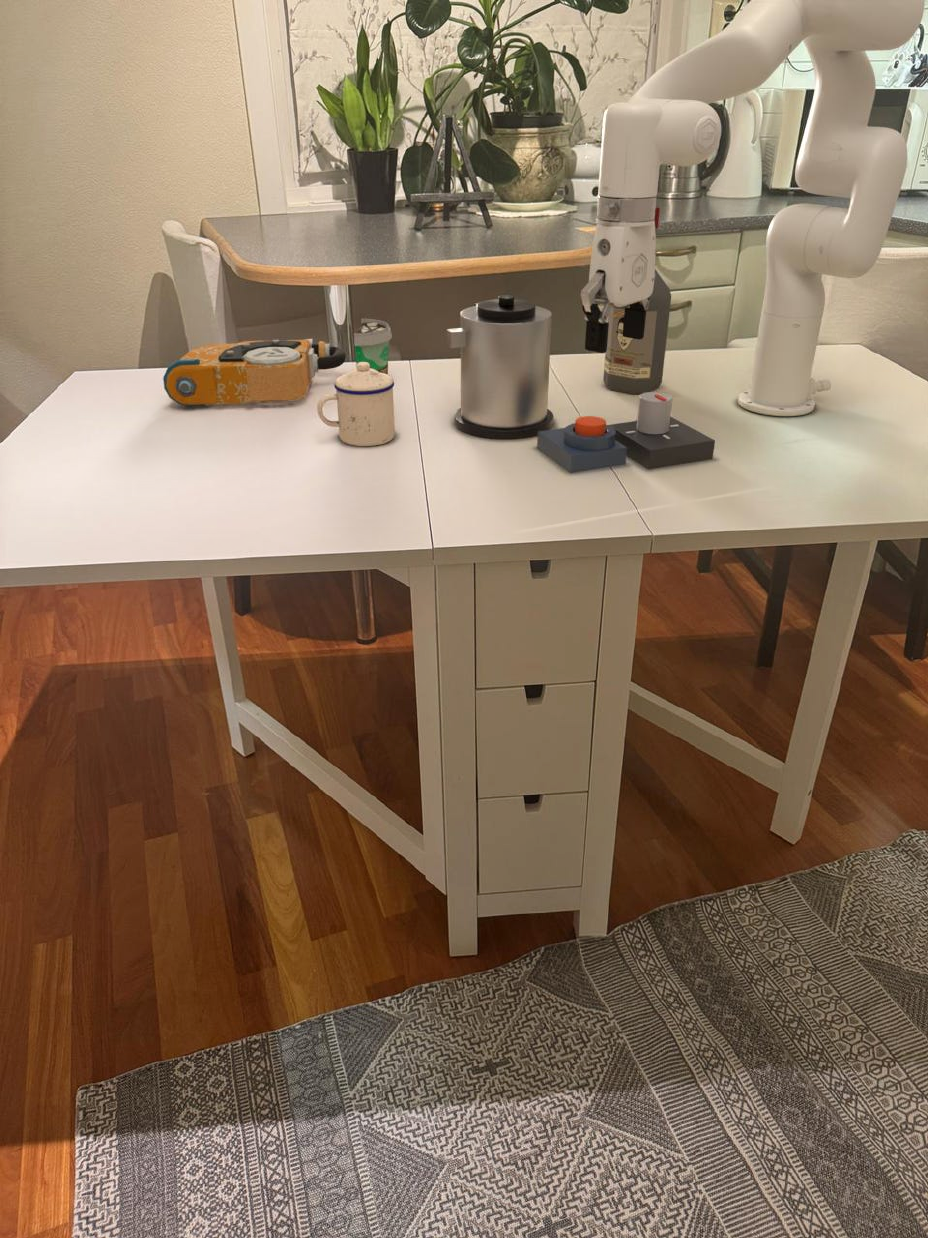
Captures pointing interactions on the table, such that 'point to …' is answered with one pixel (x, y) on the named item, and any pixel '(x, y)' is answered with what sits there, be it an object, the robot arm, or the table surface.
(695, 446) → the console
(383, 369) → the food container
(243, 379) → the device
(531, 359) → the kettle
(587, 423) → the button
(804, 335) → the robot arm
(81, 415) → the table surface
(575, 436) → the button housing
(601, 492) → the table surface
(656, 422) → the dial
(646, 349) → the liquor
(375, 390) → the teacup with lid
